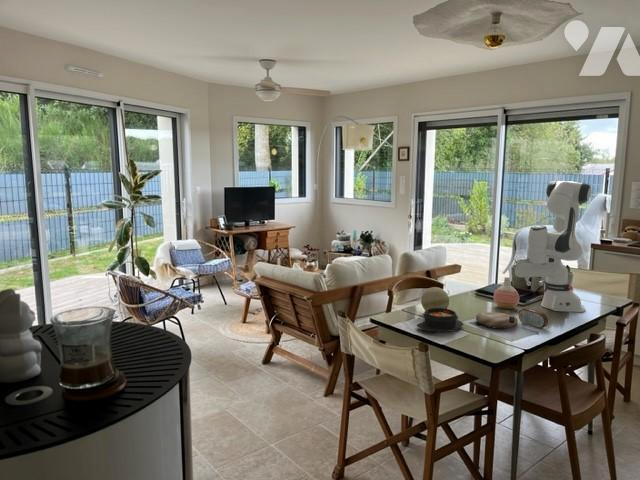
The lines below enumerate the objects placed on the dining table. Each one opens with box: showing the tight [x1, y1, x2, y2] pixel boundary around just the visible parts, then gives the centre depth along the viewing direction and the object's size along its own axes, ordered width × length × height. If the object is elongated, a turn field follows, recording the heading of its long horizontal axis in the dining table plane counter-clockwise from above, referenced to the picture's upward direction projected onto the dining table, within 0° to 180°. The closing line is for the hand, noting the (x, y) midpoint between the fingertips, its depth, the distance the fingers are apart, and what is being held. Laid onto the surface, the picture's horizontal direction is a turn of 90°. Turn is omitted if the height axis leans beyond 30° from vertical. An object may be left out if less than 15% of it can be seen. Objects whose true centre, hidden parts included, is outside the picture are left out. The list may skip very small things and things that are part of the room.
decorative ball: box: [420, 286, 450, 311], centre depth 262 cm, size 15×15×15 cm
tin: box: [517, 307, 549, 329], centre depth 243 cm, size 15×3×8 cm, turn 34°
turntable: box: [475, 311, 518, 328], centre depth 247 cm, size 20×20×4 cm
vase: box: [493, 276, 520, 310], centre depth 273 cm, size 14×14×18 cm
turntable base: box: [487, 325, 508, 329], centre depth 247 cm, size 14×14×2 cm
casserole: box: [416, 308, 464, 333], centre depth 241 cm, size 25×19×8 cm
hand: (534, 285), depth 240 cm, fingers open, 5 cm apart
